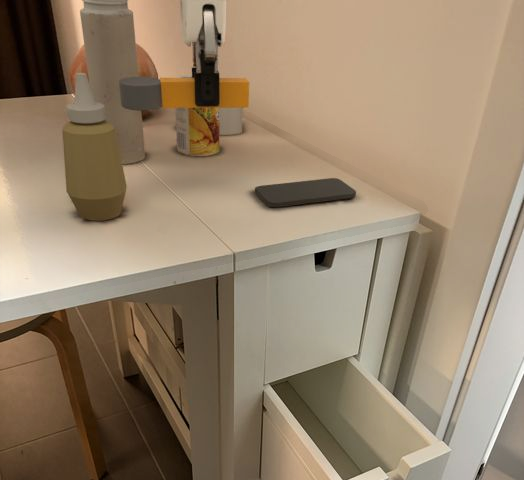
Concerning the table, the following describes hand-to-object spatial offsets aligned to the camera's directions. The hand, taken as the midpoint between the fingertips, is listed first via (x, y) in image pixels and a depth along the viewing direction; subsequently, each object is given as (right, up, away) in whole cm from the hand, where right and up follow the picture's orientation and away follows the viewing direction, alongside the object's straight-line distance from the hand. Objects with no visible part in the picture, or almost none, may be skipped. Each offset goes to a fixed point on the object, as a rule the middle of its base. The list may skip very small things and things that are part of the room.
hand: (205, 101), depth 75 cm
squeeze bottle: (-15, -15, +4) cm, 21 cm away
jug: (-24, +17, +46) cm, 55 cm away
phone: (+14, -9, +12) cm, 21 cm away
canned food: (-4, +4, +29) cm, 30 cm away
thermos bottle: (-17, +1, +24) cm, 29 cm away
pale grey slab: (-3, +13, +41) cm, 43 cm away
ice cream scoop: (-3, -1, 0) cm, 3 cm away
